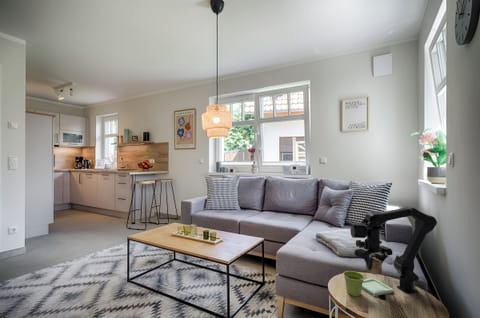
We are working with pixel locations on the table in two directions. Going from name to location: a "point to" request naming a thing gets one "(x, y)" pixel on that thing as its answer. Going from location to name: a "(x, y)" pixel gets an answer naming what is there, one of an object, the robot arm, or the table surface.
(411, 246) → the robot arm
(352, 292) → the plant pot
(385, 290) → the green tray
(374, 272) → the walnut block
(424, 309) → the table surface
